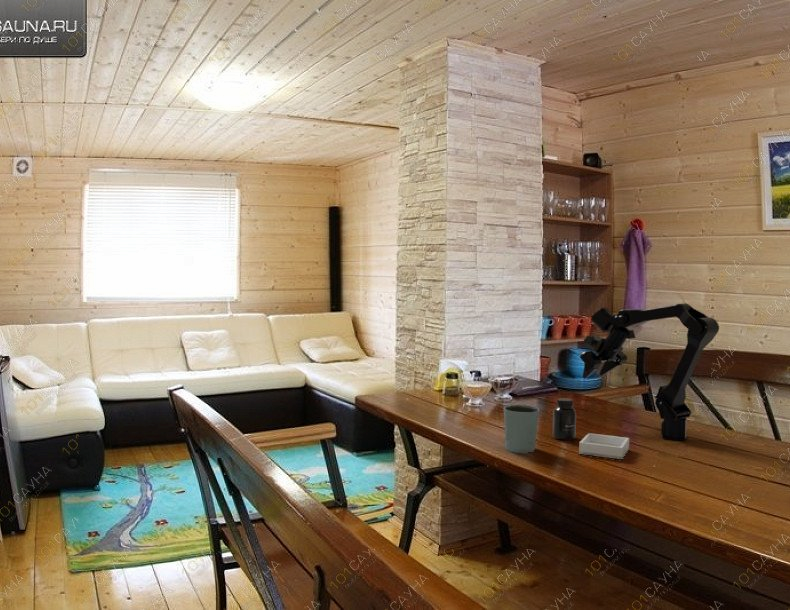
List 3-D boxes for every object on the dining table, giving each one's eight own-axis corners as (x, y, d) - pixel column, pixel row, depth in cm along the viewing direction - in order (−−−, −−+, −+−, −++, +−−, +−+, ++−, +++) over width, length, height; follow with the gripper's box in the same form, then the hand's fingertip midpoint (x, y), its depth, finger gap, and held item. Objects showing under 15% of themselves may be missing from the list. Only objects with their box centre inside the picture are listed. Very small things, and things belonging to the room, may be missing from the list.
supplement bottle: (570, 442, 202) (570, 402, 201) (549, 438, 206) (549, 399, 205) (579, 437, 207) (579, 399, 207) (558, 433, 212) (558, 396, 211)
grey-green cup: (496, 446, 198) (497, 405, 197) (526, 442, 201) (527, 403, 200) (514, 455, 188) (515, 413, 187) (545, 452, 192) (546, 410, 191)
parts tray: (628, 449, 194) (629, 438, 193) (621, 460, 184) (622, 447, 183) (588, 444, 199) (588, 433, 199) (579, 454, 189) (579, 442, 189)
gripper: (614, 324, 233) (593, 358, 241) (580, 327, 222) (559, 363, 230) (637, 344, 226) (615, 379, 234) (603, 349, 215) (580, 385, 223)
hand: (592, 376), depth 230 cm, fingers open, 9 cm apart
